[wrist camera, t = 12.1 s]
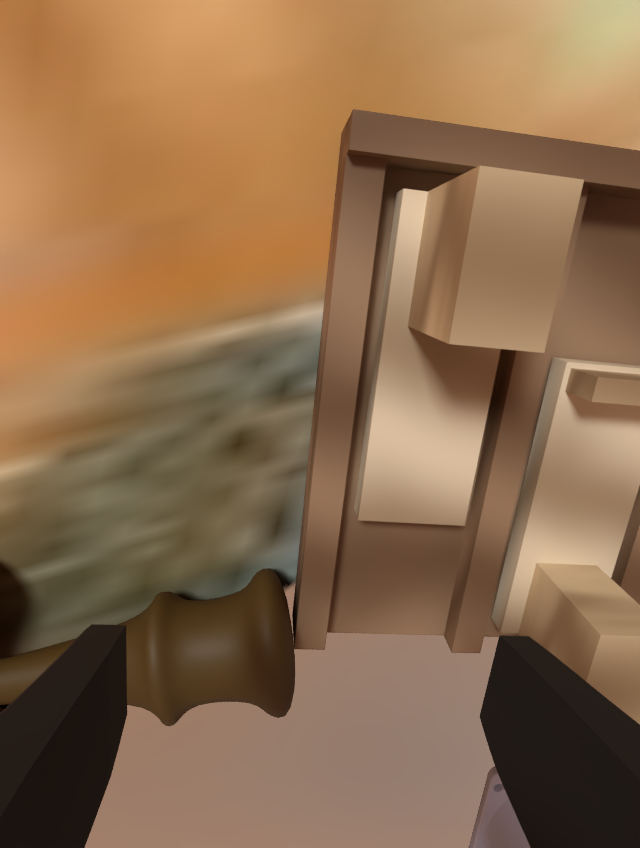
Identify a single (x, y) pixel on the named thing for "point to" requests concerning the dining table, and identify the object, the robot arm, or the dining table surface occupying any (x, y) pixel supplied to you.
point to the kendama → (194, 653)
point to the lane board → (511, 396)
